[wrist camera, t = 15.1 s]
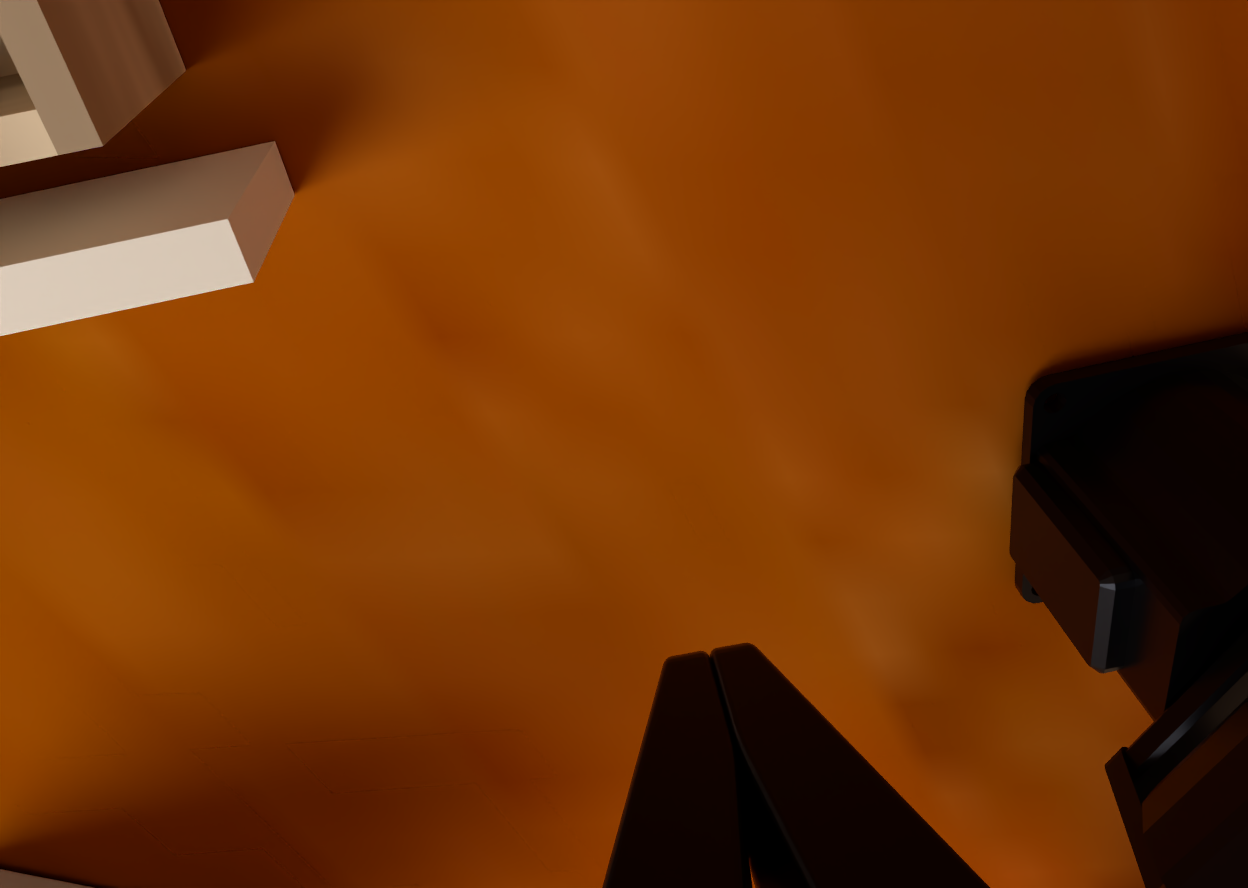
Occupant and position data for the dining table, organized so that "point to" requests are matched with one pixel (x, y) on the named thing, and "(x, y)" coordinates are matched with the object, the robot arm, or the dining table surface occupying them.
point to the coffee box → (31, 881)
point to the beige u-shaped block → (139, 236)
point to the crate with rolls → (78, 72)
